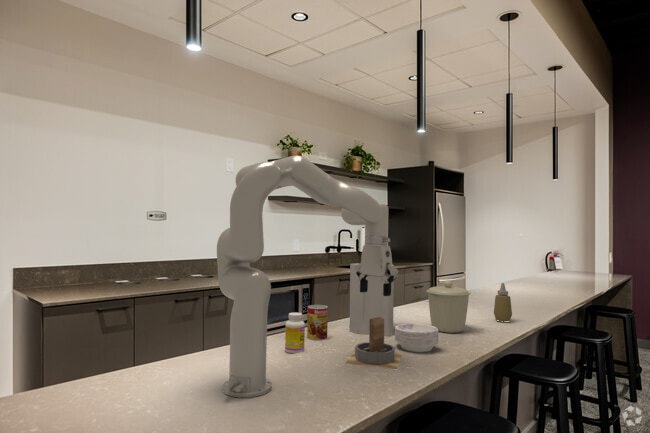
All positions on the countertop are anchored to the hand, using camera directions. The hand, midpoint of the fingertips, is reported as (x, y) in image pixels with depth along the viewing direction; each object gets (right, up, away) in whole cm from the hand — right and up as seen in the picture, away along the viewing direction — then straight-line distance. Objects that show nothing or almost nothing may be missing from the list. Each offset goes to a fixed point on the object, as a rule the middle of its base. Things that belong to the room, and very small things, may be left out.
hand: (375, 293), depth 137 cm
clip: (0, -21, 0) cm, 21 cm away
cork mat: (0, -21, -1) cm, 21 cm away
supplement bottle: (-27, -22, +8) cm, 35 cm away
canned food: (-19, -22, +27) cm, 40 cm away
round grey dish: (0, -21, 0) cm, 21 cm away
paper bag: (+6, -23, +37) cm, 44 cm away
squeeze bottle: (+67, -25, +61) cm, 94 cm away
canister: (+36, -24, +42) cm, 60 cm away
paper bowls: (+16, -22, +13) cm, 30 cm away
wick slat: (0, -20, 0) cm, 20 cm away
